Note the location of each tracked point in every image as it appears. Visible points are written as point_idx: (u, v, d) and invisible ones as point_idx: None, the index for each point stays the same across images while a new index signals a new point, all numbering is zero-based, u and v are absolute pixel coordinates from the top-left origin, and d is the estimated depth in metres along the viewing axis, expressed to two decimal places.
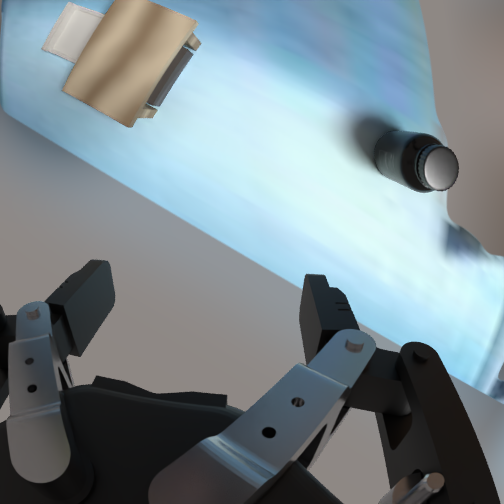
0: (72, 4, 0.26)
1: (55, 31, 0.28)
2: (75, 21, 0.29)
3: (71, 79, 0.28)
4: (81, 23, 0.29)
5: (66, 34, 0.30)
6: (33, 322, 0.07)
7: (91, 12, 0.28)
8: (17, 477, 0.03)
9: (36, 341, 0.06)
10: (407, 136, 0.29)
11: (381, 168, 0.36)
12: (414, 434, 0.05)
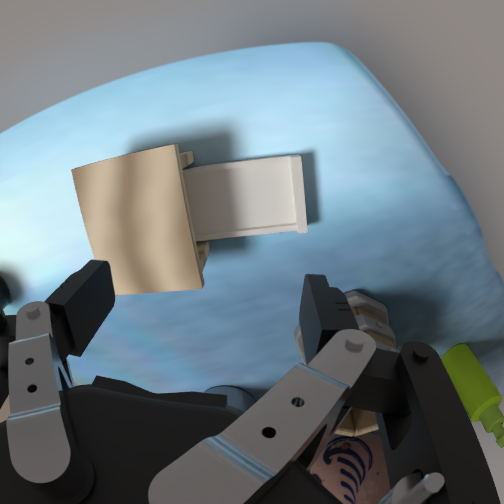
0: (298, 231, 0.33)
1: (294, 188, 0.31)
2: (281, 208, 0.33)
3: (170, 165, 0.26)
4: (269, 210, 0.33)
5: (281, 187, 0.32)
6: (33, 322, 0.07)
7: (261, 230, 0.34)
8: (17, 477, 0.03)
9: (36, 341, 0.06)
10: None
11: None
12: (414, 434, 0.05)
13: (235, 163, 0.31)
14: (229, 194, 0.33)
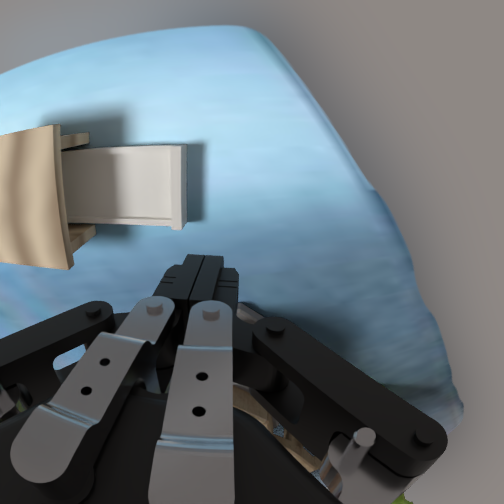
0: None
1: (170, 180, 0.28)
2: (161, 201, 0.30)
3: (48, 144, 0.22)
4: (149, 201, 0.30)
5: (163, 178, 0.29)
6: (147, 319, 0.08)
7: (139, 221, 0.30)
8: (17, 477, 0.03)
9: (126, 344, 0.06)
10: None
11: None
12: (312, 404, 0.06)
13: (120, 148, 0.27)
14: (113, 179, 0.29)
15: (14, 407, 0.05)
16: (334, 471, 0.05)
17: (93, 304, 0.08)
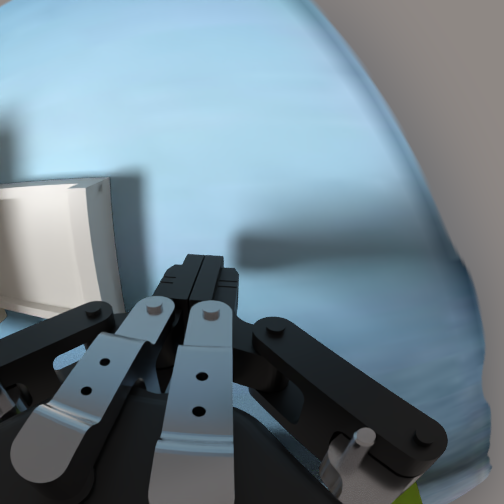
0: None
1: (75, 255, 0.13)
2: (77, 283, 0.15)
3: None
4: (59, 281, 0.15)
5: (73, 244, 0.14)
6: (146, 318, 0.08)
7: (49, 314, 0.15)
8: (17, 477, 0.03)
9: (126, 344, 0.06)
10: None
11: None
12: (311, 404, 0.06)
13: (2, 190, 0.12)
14: (6, 242, 0.14)
15: (14, 407, 0.05)
16: (334, 471, 0.05)
17: (93, 304, 0.08)
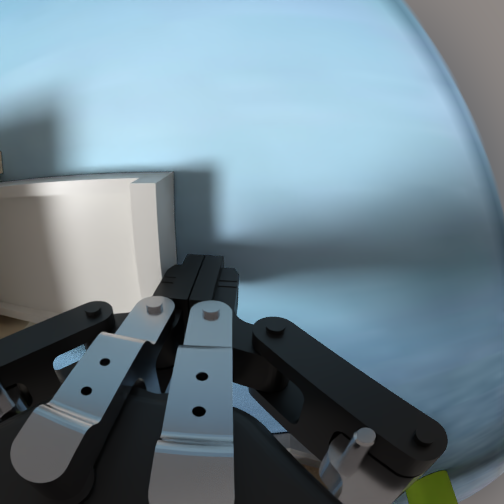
0: None
1: (137, 263, 0.12)
2: (127, 293, 0.14)
3: None
4: (103, 291, 0.14)
5: (125, 249, 0.13)
6: (147, 318, 0.08)
7: None
8: (17, 477, 0.03)
9: (126, 344, 0.06)
10: None
11: None
12: (312, 404, 0.06)
13: (34, 185, 0.11)
14: (35, 246, 0.13)
15: (14, 407, 0.05)
16: (334, 471, 0.05)
17: (93, 304, 0.08)
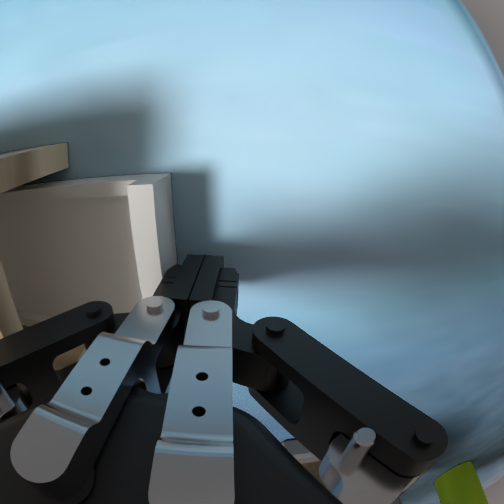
0: None
1: (136, 265, 0.12)
2: (129, 296, 0.14)
3: None
4: (105, 294, 0.14)
5: (125, 252, 0.13)
6: (147, 318, 0.08)
7: None
8: (17, 477, 0.03)
9: (126, 344, 0.06)
10: None
11: None
12: (312, 404, 0.06)
13: (33, 191, 0.11)
14: (36, 251, 0.13)
15: (14, 407, 0.05)
16: (334, 471, 0.05)
17: (93, 304, 0.08)
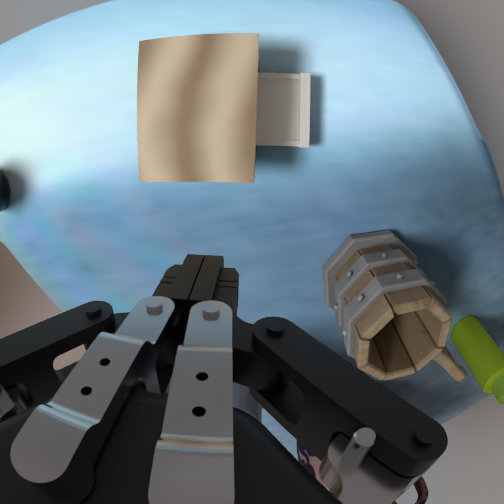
0: (299, 145, 0.31)
1: (300, 101, 0.28)
2: (285, 123, 0.31)
3: (251, 50, 0.23)
4: (272, 123, 0.31)
5: (287, 103, 0.30)
6: (147, 319, 0.08)
7: (263, 142, 0.31)
8: (17, 477, 0.03)
9: (126, 344, 0.06)
10: None
11: None
12: (312, 404, 0.06)
13: None
14: None
15: (14, 407, 0.05)
16: (334, 471, 0.05)
17: (93, 304, 0.08)
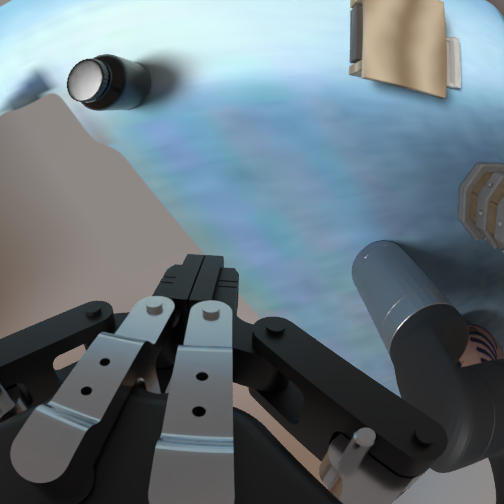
0: (455, 85, 0.31)
1: (454, 55, 0.29)
2: None
3: (440, 11, 0.23)
4: None
5: None
6: (147, 319, 0.08)
7: None
8: (17, 477, 0.03)
9: (126, 344, 0.06)
10: (128, 89, 0.29)
11: None
12: (312, 404, 0.06)
13: None
14: None
15: (14, 407, 0.05)
16: (334, 471, 0.05)
17: (93, 304, 0.08)
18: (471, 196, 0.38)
